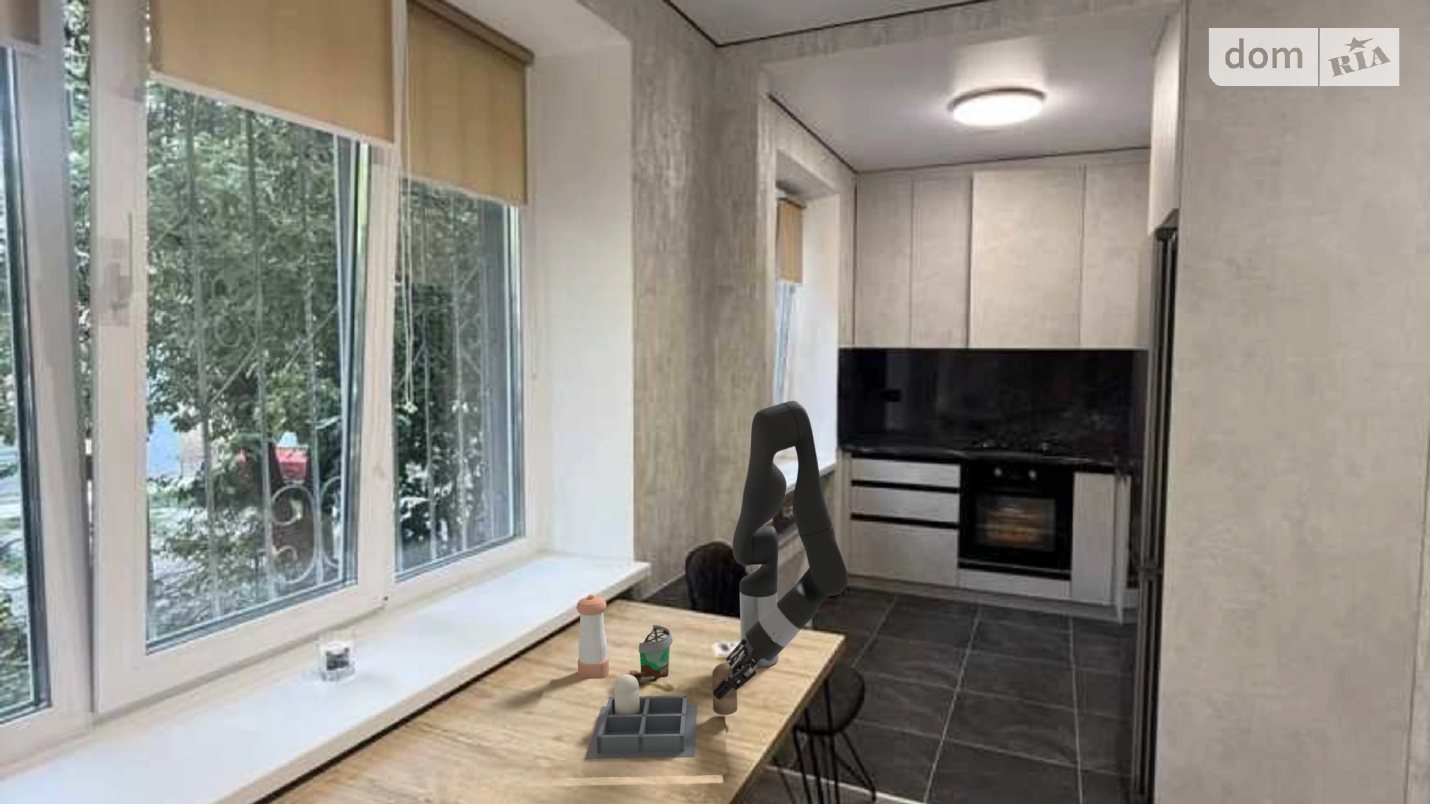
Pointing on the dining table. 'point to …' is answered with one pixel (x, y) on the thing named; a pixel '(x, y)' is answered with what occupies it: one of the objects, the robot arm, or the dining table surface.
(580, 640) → the pepper shaker
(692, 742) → the grey compartment tray
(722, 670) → the brown domed cylinder
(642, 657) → the food container
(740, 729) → the dining table surface
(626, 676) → the white dome-top cylinder
